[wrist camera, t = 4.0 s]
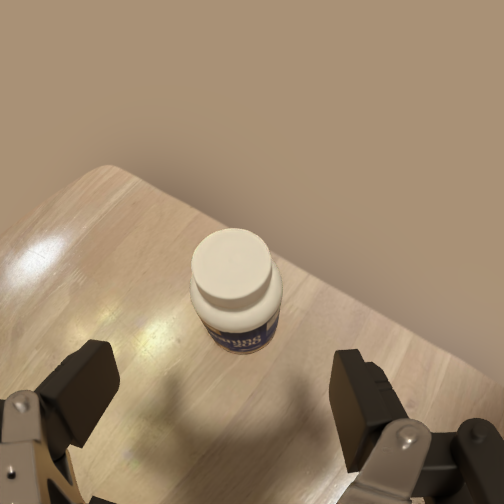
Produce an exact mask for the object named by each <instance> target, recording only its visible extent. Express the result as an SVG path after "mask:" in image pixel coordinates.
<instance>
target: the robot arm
mask: <svg viewBox="0 0 504 504" xmlns="http://www.w3.org/2000/svg"><path fill="white" fill-rule="evenodd" d="M119 385H120V376H119V372H118V369H117V365H116V362H115V358H114V354H113V351H112V347H111V345H110V343H109V342H106V341H99V340H92V339H90V340H88V341H87V342H86V343H85V344H84V345H83V346H82V347H81V348H80V349H79V350H78V351H76V352H74V353H72V354H70V355H69V356H67V357H66V358H65V359H64V360H63V361H62V362H61V365H58V366H57V367H56V369H55V371H53V372H52V373H51V374H50V375H49V376H48V377H47V378H46V379H45V380H44V381H43V382H42V383H41V384H40V385H39V386H38V387H37V388H36V390H35V391H34V392H33V391H30V390H20V391H17V392H15V393H13V394H11V395H10V396H9V397H8V398H7V399H6V400H1V399H0V504H86V503H85V501H84V500H83V498H82V496H81V494H80V491H79V488H78V485H77V481H76V477H75V474H74V470H73V465H72V461H71V457H70V453H69V451H68V449H67V448H68V446H69V445H70V444H71V445H74V446H76V447H79V448H83V446H84V444H85V443H86V441H87V439H88V438H89V436H90V434H91V433H92V431H93V430H94V428H95V426H96V425H97V423H98V421H99V420H100V418H101V416H102V415H103V413H104V412H105V410H106V408H107V407H108V405H109V404H110V402H111V400H112V399H113V397H114V396H115V394H116V393H117V391H118V389H119ZM329 400H330V405H331V408H332V412H333V416H334V420H335V424H336V427H337V431H338V435H339V439H340V443H341V447H342V451H343V455H344V459H345V464H346V468H347V472H348V473H353V472H359V474H358V475H357V477H356V479H355V480H354V481H353V482H352V483H351V484H350V485H349V486H348V488H347V489H346V490H345V492H344V493H343V495H342V496H341V498H340V499H339V500H338V502H337V503H336V504H412V500H410V497H423V498H424V501H425V504H504V440H503V438H502V437H501V435H500V434H499V432H498V431H497V429H496V428H495V426H494V425H493V424H492V423H490V422H489V421H487V420H484V419H481V418H472V419H468V420H466V421H464V422H463V423H462V424H461V425H460V427H459V428H458V430H457V432H448V433H433V432H430V430H429V429H428V428H427V426H425V425H424V424H423V423H421V422H419V421H417V420H414V419H409V417H408V415H407V413H406V411H405V410H404V408H403V406H402V404H401V402H400V400H399V398H398V397H397V395H396V393H395V391H394V389H392V386H391V384H390V382H389V381H388V379H387V377H386V375H385V373H384V371H383V370H382V369H381V368H380V367H378V366H377V365H376V364H374V363H373V362H364V360H363V358H362V356H361V354H360V352H359V350H358V349H351V350H337V351H335V354H334V359H333V366H332V372H331V378H330V384H329ZM89 504H116V503H113V502H109V501H106V500H104V499H101V498H98V497H95V496H92V498H91V500H90V502H89Z"/></svg>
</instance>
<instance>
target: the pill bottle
mask: <svg viewBox="0 0 504 504" xmlns="http://www.w3.org/2000/svg"><path fill="white" fill-rule="evenodd" d="M191 270H192V276H191V280H190V298H191V301H192V304H193V306H194V309H195V310H196V312H197V314H198V316H199V317H200V319H201V321H202V322H203V324H204V326H205V327H206V329H207V330H208V332H209V333H210V335H211V336H212V338H213V339H214V341H215V342H216V343H217V344H218V345H219V346H220V347H222V348H223V349H225V350H227V351H229V352H232V353H237V354H248V353H252V352H256V351H258V350H260V349H261V348H263V347H264V346H266V345H267V344H268V343H269V342H270V340H271V339H272V337H273V335H274V333H275V331H276V328H277V323H278V318H279V312H280V306H281V300H282V293H283V284H282V277H281V274H280V271H279V269H278V267H277V265H276V264H275V262H274V261H273V260H272V259H271V254H270V251H269V249H268V247H267V245H266V244H265V242H264V241H263V240H262V239H261V238H260V237H259V236H257V235H256V234H254V233H252V232H250V231H247V230H244V229H237V228H228V229H223V230H219V231H216V232H214V233H212V234H210V235H208V236H207V237H206V238H204V239H203V240H202V241H201V242H200V244H199V245H198V246H197V248H196V249H195V251H194V253H193V256H192V260H191Z"/></svg>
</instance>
